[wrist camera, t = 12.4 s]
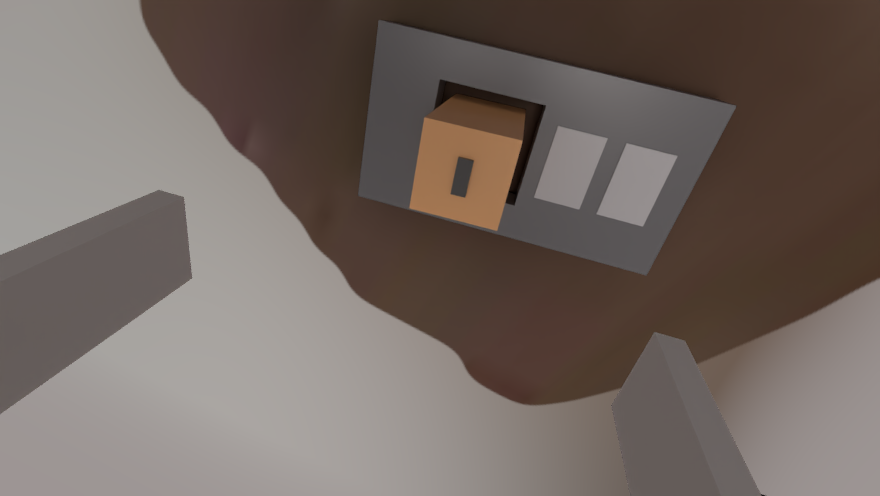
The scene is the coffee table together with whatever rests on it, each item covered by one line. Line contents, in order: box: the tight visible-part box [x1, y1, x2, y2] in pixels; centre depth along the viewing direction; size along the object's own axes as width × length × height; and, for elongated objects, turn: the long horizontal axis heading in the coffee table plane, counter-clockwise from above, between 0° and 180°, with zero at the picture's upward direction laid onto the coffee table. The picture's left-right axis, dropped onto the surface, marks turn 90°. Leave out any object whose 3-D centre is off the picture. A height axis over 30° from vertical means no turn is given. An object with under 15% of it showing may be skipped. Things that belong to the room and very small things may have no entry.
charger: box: [409, 93, 526, 231], centre depth 26 cm, size 5×5×10 cm
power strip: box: [358, 20, 736, 275], centre depth 29 cm, size 12×22×3 cm, turn 77°
